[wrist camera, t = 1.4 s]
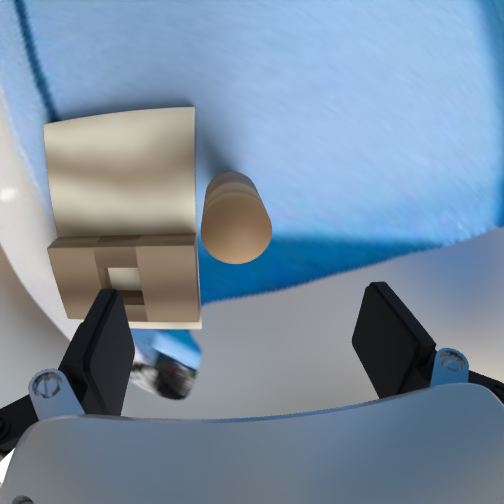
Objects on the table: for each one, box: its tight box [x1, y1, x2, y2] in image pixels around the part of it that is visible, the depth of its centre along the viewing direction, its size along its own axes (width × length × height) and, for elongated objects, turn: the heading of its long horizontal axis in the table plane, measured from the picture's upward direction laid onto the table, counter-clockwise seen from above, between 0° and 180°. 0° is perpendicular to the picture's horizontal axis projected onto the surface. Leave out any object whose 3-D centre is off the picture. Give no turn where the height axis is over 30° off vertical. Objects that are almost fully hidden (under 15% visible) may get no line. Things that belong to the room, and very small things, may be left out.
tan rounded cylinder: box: [201, 172, 272, 264], centre depth 22 cm, size 4×4×10 cm
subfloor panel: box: [44, 107, 202, 329], centre depth 26 cm, size 22×14×4 cm, turn 178°
